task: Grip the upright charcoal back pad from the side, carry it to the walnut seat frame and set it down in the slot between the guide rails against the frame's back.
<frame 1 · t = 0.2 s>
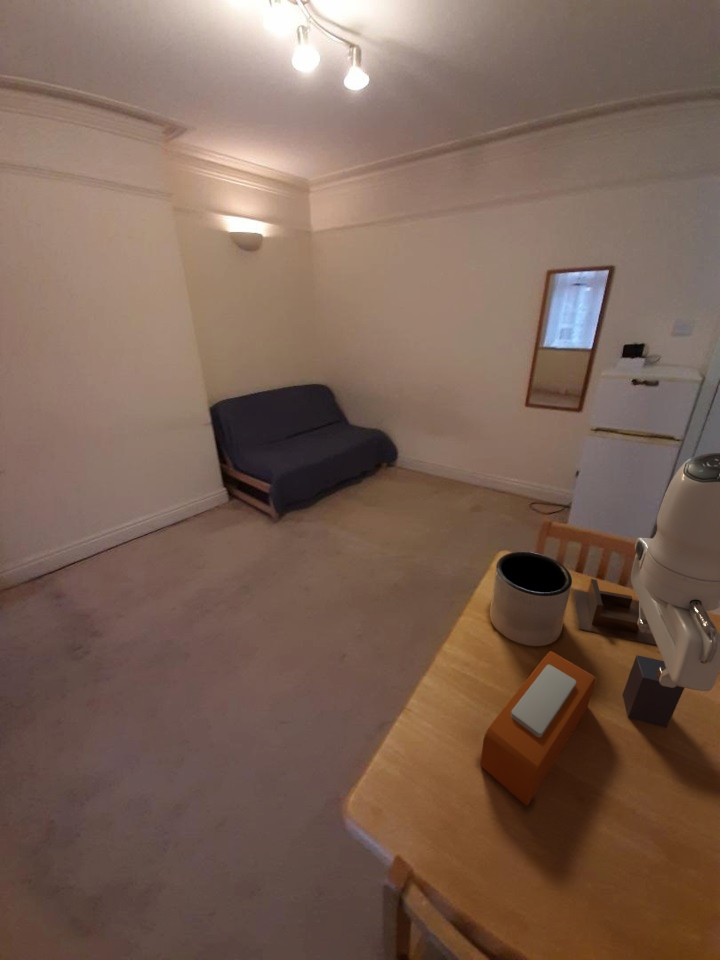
hand: (654, 654, 58), 25 cm above the table, tool pointing down, fingers open, 8 cm apart
planter: (523, 623, 97), on the table
alarm clock: (535, 738, 73), on the table
back pad: (641, 714, 75), on the table
seat frame: (612, 619, 97), on the table
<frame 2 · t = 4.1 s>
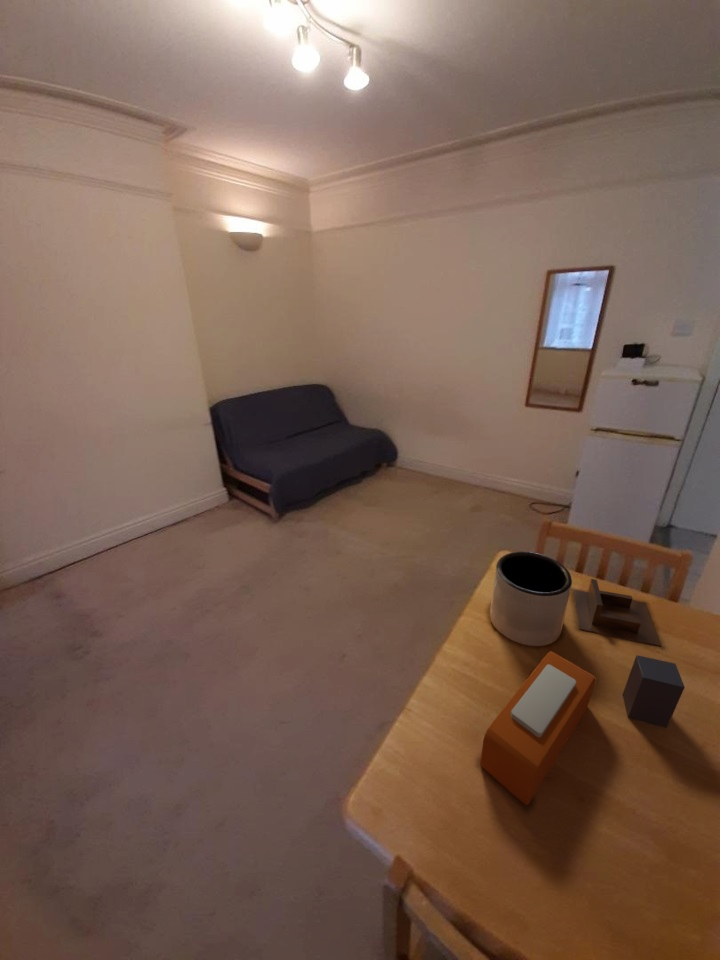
nothing on the table moved.
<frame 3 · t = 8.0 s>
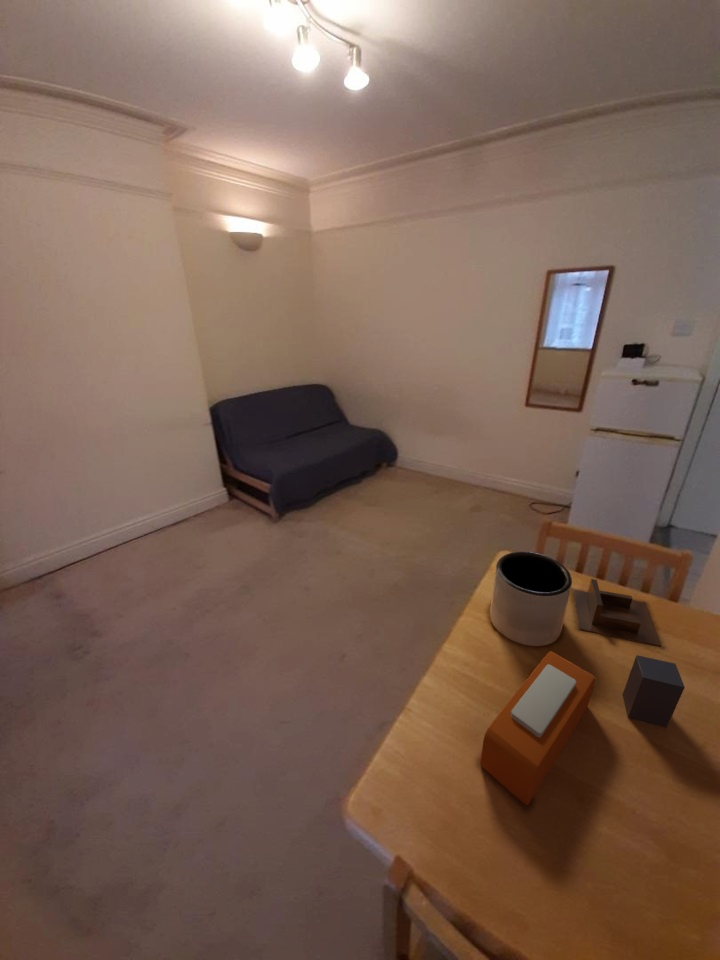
nothing on the table moved.
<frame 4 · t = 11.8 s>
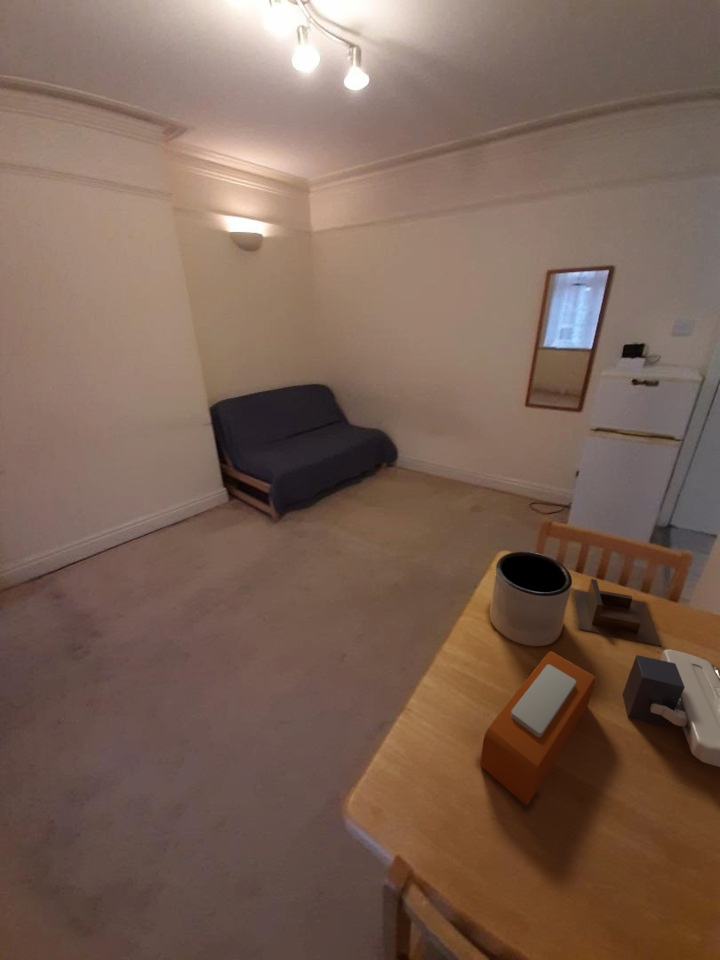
hand: (645, 689, 73), 7 cm above the table, tool horizontal, fingers closed on back pad, 5 cm apart
back pad: (641, 714, 75), on the table, touching gripper
everything else where it was.
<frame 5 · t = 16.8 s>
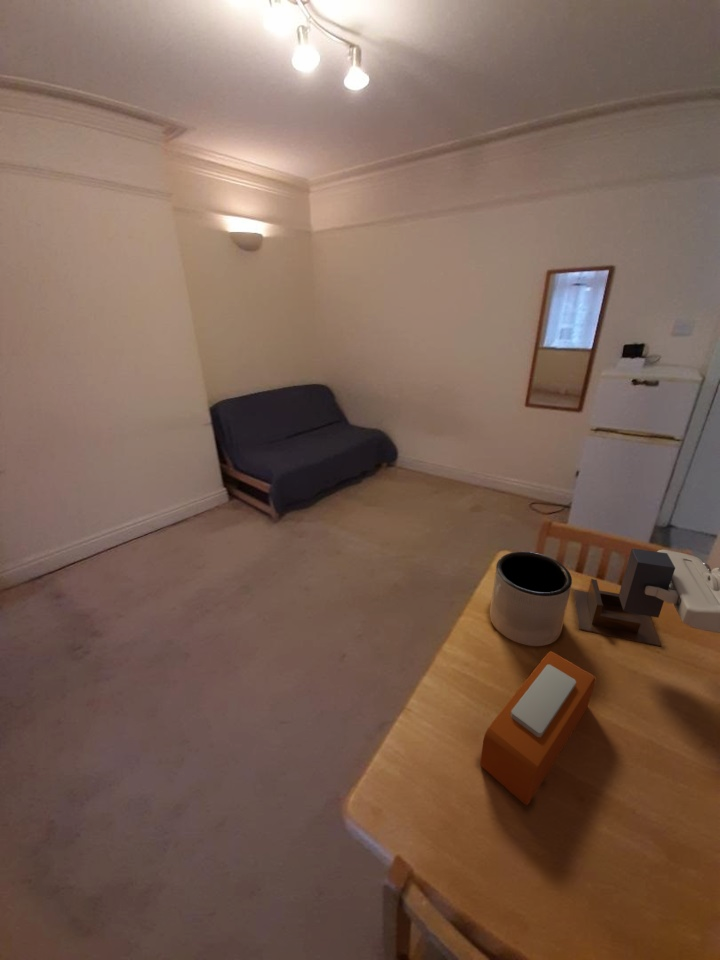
hand: (640, 578, 80), 20 cm above the table, tool horizontal, fingers closed on back pad, 5 cm apart
back pad: (637, 606, 82), point 13 cm above the table, touching gripper
everything else where it was.
when the fingers open (8 cm above the table, at t = 21.8 s): back pad stays where it is, resting on seat frame.
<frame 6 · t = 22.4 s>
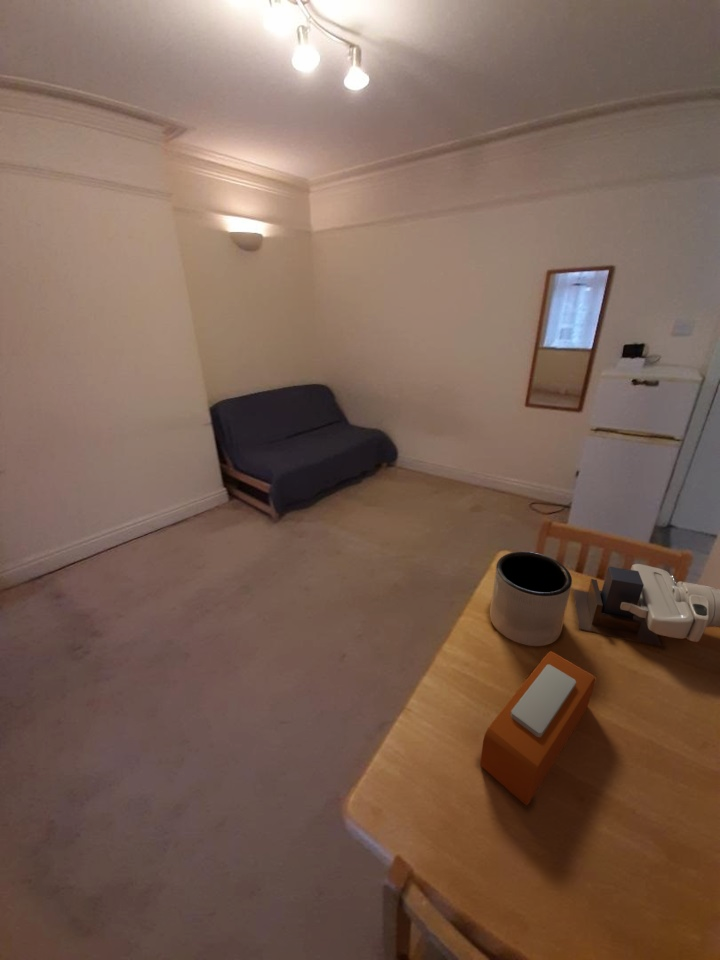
hand: (616, 590, 93), 9 cm above the table, tool horizontal, fingers open, 8 cm apart
back pad: (613, 615, 96), point 1 cm above the table, touching seat frame
everything else where it was.
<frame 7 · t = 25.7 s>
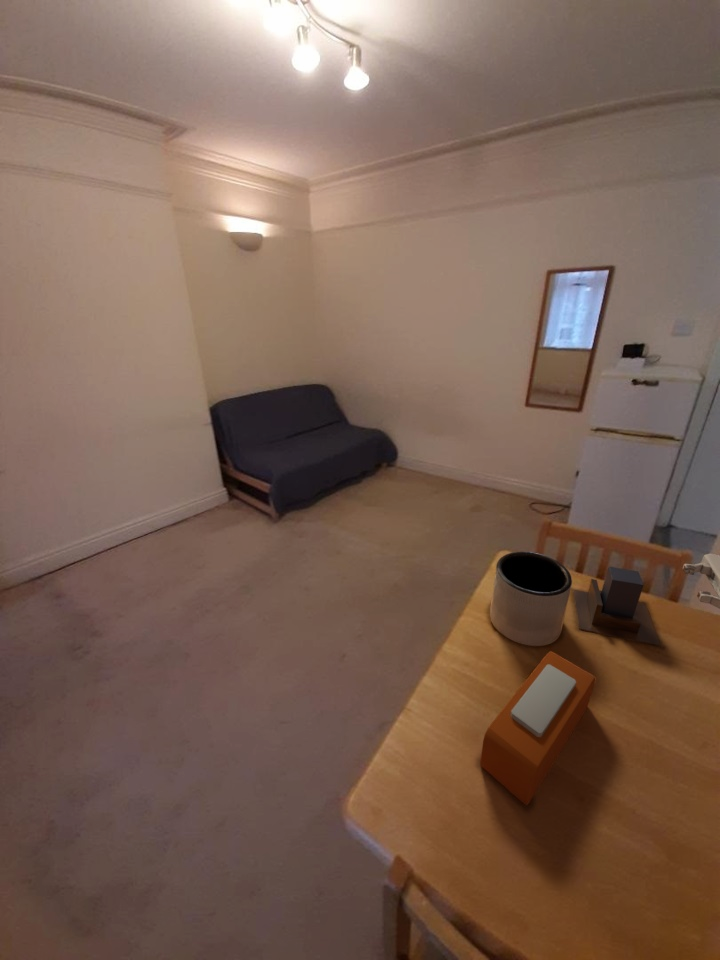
hand: (691, 581, 87), 14 cm above the table, tool horizontal, fingers open, 8 cm apart
nothing on the table moved.
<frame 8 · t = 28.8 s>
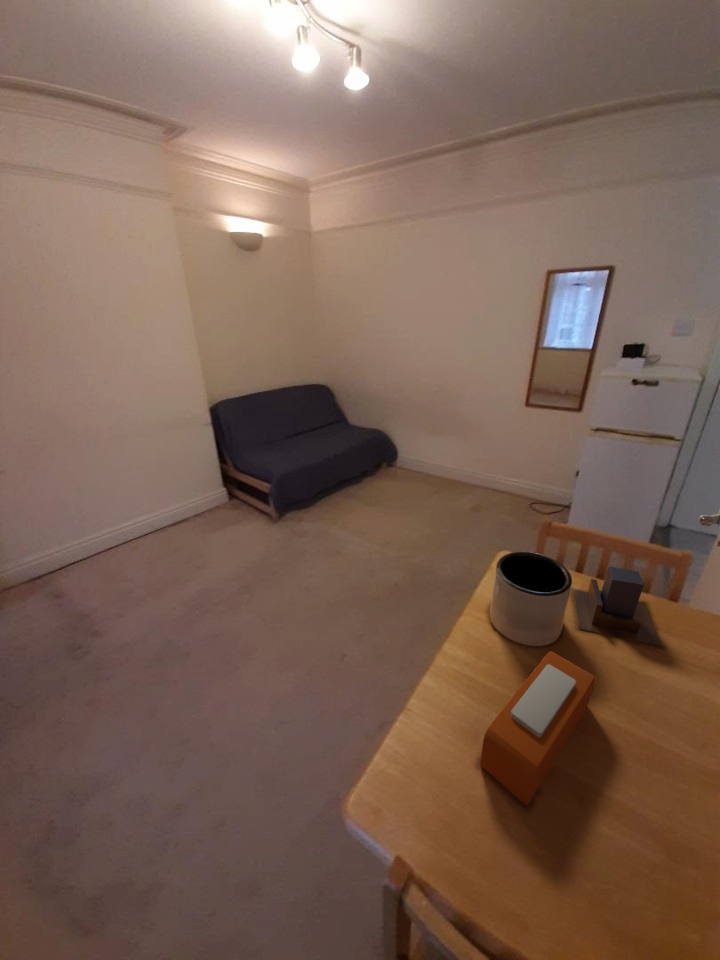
hand: (709, 531, 81), 27 cm above the table, tool horizontal, fingers open, 8 cm apart
nothing on the table moved.
at the end: back pad 0.1 cm off-centre on the seat frame, point 1.5 cm above the seat frame's base; back pad tilted 0°; the gripper is holding nothing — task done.
